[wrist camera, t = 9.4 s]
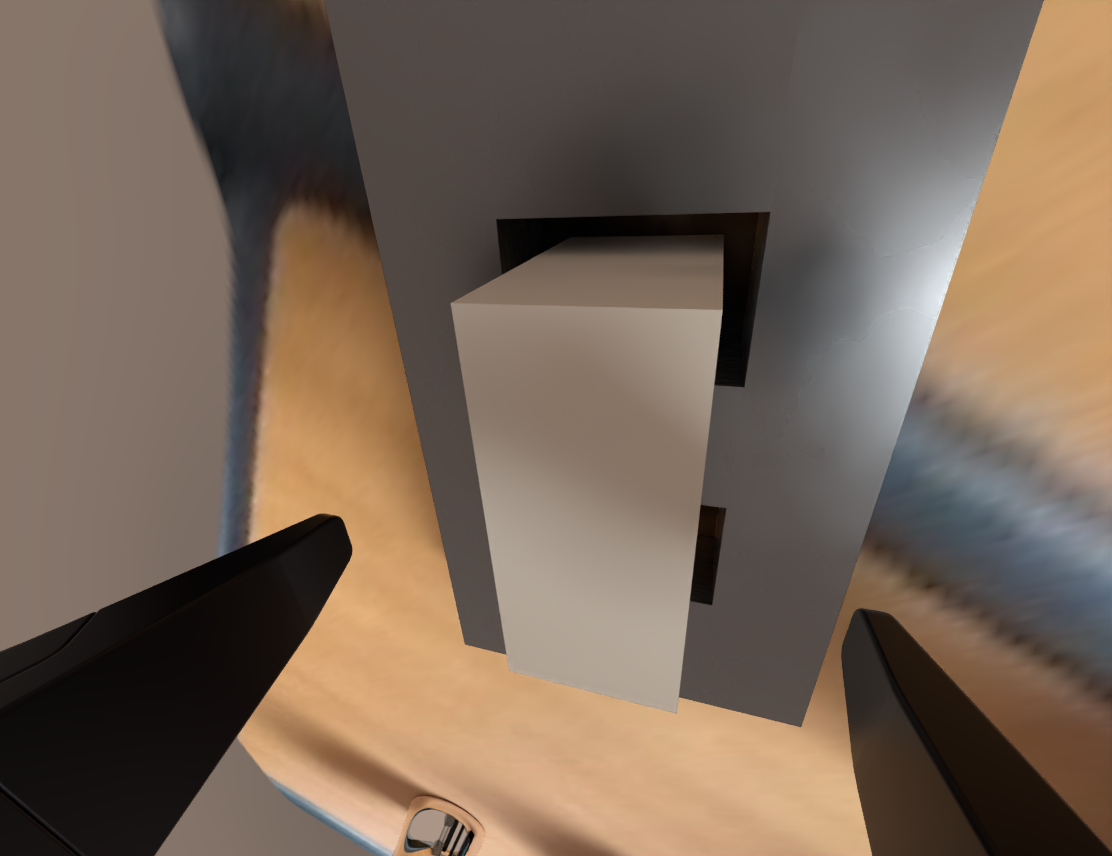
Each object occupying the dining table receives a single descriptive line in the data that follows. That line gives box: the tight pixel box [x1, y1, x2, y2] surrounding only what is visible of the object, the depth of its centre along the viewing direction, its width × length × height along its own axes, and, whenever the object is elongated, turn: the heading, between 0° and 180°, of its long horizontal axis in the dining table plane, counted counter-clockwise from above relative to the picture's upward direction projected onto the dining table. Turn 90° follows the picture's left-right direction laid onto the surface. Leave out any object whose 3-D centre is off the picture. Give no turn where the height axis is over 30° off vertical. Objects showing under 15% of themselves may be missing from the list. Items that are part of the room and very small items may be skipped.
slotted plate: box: [324, 0, 1044, 727], centre depth 14 cm, size 20×12×3 cm, turn 3°
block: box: [451, 235, 724, 714], centre depth 12 cm, size 9×4×7 cm, turn 3°
